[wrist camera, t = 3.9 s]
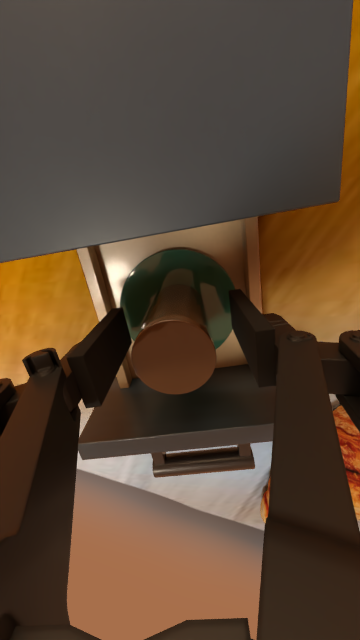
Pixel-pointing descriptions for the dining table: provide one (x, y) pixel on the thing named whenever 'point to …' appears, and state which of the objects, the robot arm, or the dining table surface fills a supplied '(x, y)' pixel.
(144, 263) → the lid
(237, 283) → the drawer
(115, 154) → the cabinet
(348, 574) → the robot arm
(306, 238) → the dining table surface
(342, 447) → the croissant
